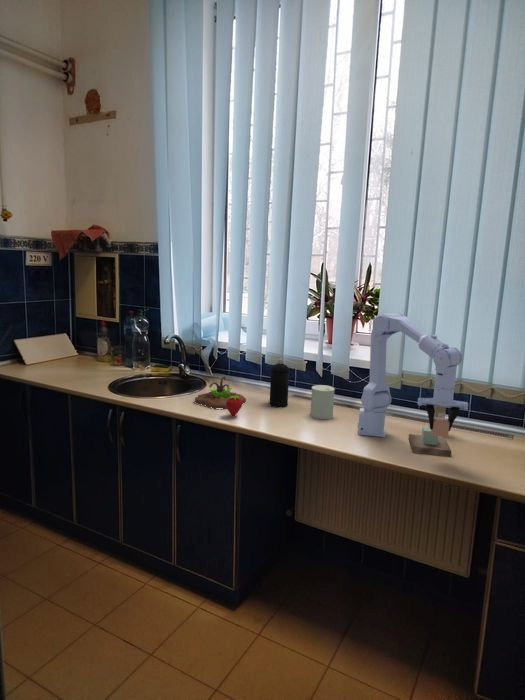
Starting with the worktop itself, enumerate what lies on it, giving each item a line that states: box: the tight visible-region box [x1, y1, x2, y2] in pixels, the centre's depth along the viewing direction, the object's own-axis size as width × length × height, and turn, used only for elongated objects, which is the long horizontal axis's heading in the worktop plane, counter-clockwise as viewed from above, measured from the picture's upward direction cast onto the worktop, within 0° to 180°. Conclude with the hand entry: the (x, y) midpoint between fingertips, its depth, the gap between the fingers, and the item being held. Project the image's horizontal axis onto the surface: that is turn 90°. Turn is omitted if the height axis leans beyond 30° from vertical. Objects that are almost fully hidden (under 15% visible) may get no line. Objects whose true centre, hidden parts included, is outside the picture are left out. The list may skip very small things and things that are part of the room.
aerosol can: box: [268, 357, 291, 408], centre depth 201 cm, size 8×8×20 cm
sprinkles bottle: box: [434, 406, 447, 418], centre depth 174 cm, size 5×5×13 cm
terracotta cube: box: [431, 417, 450, 438], centre depth 149 cm, size 4×4×4 cm
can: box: [309, 384, 336, 420], centre depth 190 cm, size 9×9×12 cm
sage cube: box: [421, 426, 439, 445], centre depth 160 cm, size 4×4×4 cm
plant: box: [194, 376, 247, 410], centre depth 203 cm, size 20×20×11 cm
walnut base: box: [407, 433, 452, 457], centre depth 161 cm, size 12×12×2 cm
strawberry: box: [226, 395, 243, 417], centre depth 185 cm, size 6×8×10 cm
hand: (439, 429), depth 149 cm, fingers closed on terracotta cube, 4 cm apart
